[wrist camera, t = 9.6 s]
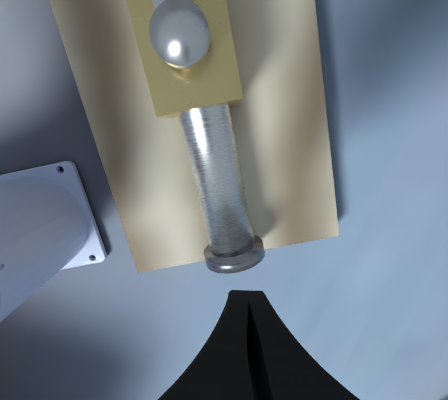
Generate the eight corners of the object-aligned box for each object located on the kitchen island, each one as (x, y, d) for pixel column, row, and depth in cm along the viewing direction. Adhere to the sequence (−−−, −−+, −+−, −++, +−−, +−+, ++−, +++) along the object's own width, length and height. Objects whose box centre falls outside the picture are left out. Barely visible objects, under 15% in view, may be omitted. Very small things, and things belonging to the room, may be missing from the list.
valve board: (143, 263, 22) (137, 272, 21) (13, -152, 15) (-10, -181, 14) (331, 228, 21) (339, 235, 20) (280, -230, 14) (286, -270, 13)
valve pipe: (205, 249, 21) (198, 293, 15) (99, -184, 14) (22, -369, 9) (263, 238, 20) (276, 279, 15) (182, -208, 14) (154, -414, 9)
